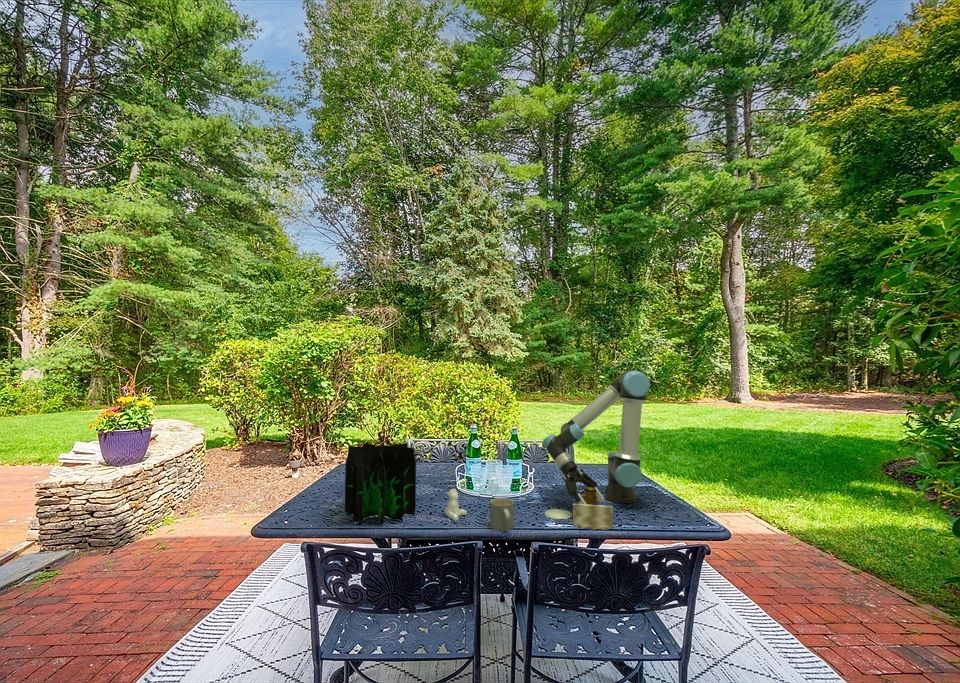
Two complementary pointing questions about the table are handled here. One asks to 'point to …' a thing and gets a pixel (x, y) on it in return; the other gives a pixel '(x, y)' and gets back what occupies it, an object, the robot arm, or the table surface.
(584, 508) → the birch screen
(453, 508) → the white creature statuette
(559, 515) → the pad
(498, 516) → the coffee mug
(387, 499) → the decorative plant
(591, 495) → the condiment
